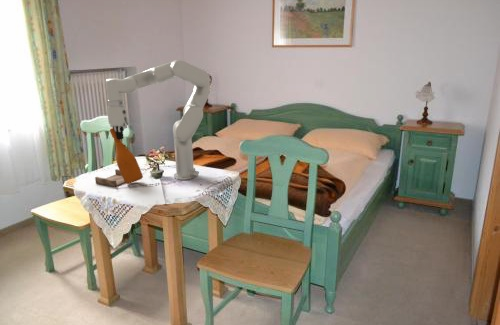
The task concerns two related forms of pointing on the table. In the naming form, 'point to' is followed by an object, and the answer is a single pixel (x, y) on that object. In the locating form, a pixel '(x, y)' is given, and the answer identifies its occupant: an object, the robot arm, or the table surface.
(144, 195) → the table surface
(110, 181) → the u rest
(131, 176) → the wine bottle
